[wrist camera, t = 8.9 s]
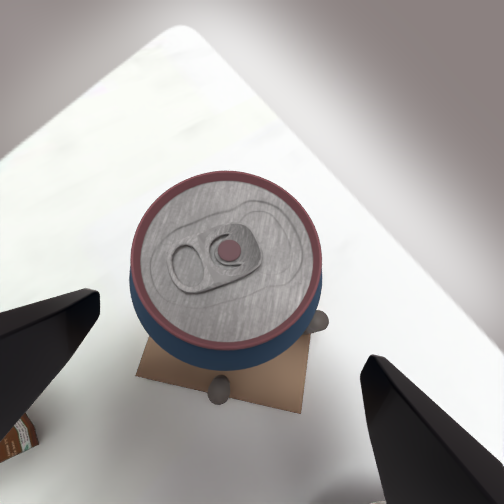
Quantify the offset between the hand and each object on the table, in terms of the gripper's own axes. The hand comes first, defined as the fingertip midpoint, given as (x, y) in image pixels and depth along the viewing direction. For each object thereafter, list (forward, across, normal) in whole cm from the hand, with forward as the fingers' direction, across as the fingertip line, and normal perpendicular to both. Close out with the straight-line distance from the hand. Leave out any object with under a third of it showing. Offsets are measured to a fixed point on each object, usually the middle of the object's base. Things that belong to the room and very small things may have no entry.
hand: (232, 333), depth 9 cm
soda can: (+9, +1, +6) cm, 11 cm away
